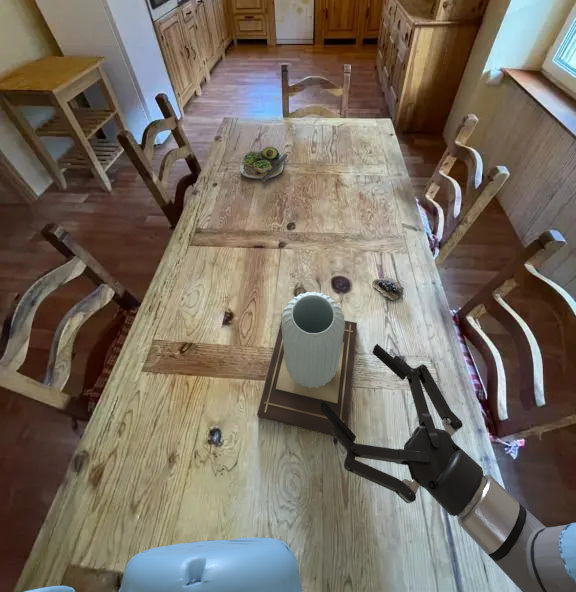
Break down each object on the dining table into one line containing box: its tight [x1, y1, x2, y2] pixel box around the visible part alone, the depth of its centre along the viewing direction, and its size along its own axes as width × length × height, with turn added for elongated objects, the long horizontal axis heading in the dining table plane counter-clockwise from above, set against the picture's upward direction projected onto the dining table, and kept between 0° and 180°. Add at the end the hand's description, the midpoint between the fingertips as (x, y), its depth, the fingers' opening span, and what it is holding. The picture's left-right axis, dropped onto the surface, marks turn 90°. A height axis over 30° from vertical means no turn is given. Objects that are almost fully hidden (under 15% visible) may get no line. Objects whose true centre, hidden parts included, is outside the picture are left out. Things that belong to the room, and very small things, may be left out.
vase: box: [280, 291, 346, 388], centre depth 67 cm, size 12×12×22 cm
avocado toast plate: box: [239, 146, 288, 183], centre depth 128 cm, size 19×18×5 cm
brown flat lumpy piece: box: [372, 277, 405, 301], centre depth 89 cm, size 7×8×2 cm
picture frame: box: [256, 319, 358, 437], centre depth 76 cm, size 24×18×2 cm
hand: (349, 375), depth 58 cm, fingers open, 13 cm apart
